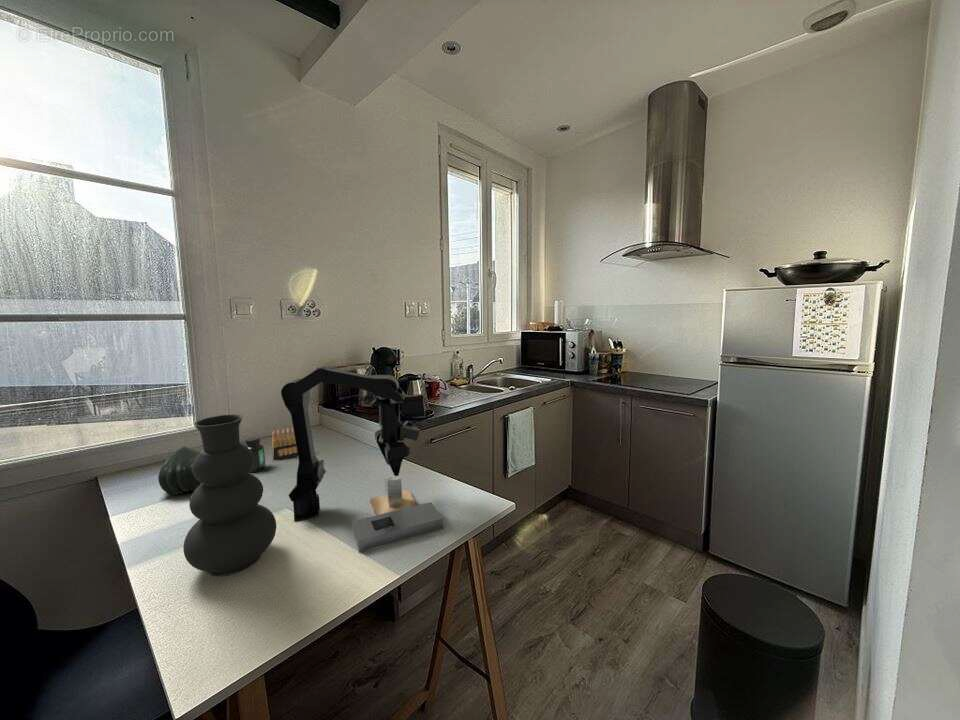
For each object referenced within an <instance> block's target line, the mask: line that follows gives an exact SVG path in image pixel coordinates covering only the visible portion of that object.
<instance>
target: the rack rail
mask: <svg viewBox="0 0 960 720" xmlns="http://www.w3.org/2000/svg"><path fill="white" fill-rule="evenodd" d="M440 530H444V518H443V516H442V515H441V513H440V512H439V511H438V509H437V508H436V507H435V505H434V504H433V503H432V502H431V501H430V502H425V503H421V504H418V505H416V506H412V507H408V508H404V509H400V510H396V511H392V512H388V513H384V514H380V515H373V516H368V517H365V518H361V519H355V520H352V531H353V532H352V533H353V535H354V540H355V543H356V546H357V550H358V553H362V552H366V551H370V550H373V549H377V548H380V547H384V546H388V545H391V544H395V543H398V542H401V541H404V540H408V539H412V538H415V537H419V536H422V535H425V534H430V533H433V532H436V531H440Z"/></svg>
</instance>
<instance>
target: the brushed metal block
mask: <svg viewBox="0 0 960 720" xmlns="http://www.w3.org/2000/svg"><path fill="white" fill-rule="evenodd" d="M384 489H385V495H386V502H387V504H388V506H389V507H393V506H397V505H401V504H402V491H403V489H402V478H401V476H400V474H399V475H398V476H394V474H389V475H385V476H384Z"/></svg>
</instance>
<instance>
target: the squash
mask: <svg viewBox="0 0 960 720" xmlns="http://www.w3.org/2000/svg"><path fill="white" fill-rule="evenodd" d="M199 453H200V451H199V450H195V449H194V448H190V447H187V446H184V445H183V446H182V447H180V448H179V449H177V450H176V451H175V452H174V453H173V454H171V455H170V456H169V457H168V458H167V459H166V460H165V461H164V463H163V465H161V467H160V469H159V472H158V478H157V479H158V483H159V486H160V488H161V489H162V491H164V492H165V493H166V494H169V495H178V494H182V493H184V492H189V491H192V492H194V491H195V490H196V489H197V487H198V486H199V485H200V484H201V482H199V481H198V480H197V479H196V478H195V477H194V475H193V472H192V465H193V462H194V460H195V458H196V457H197V455H198V454H199Z"/></svg>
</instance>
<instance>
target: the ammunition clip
mask: <svg viewBox="0 0 960 720" xmlns="http://www.w3.org/2000/svg"><path fill="white" fill-rule="evenodd" d="M271 437H272V438H271V439H272V440H271V441H272V442H271V444H272V459H273V461H278V460H283V459H287V458H292V457H298V453H297V447H296V441H295V435H294V429H293V426H292V427H291V432H290V428H289V427H287V429H286V431H285V429H284V428H282V429H281V432H280V430H279V429H277V432H276V431H275V430H272V434H271Z"/></svg>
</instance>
